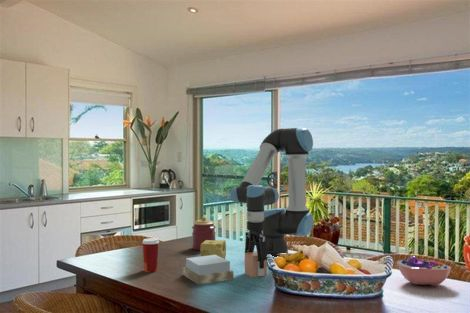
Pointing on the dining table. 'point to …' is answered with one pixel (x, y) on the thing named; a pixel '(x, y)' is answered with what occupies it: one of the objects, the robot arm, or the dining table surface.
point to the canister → (202, 232)
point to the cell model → (423, 271)
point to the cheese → (213, 248)
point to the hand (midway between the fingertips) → (255, 273)
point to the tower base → (208, 276)
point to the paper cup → (150, 254)
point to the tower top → (207, 264)
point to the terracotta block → (253, 264)
